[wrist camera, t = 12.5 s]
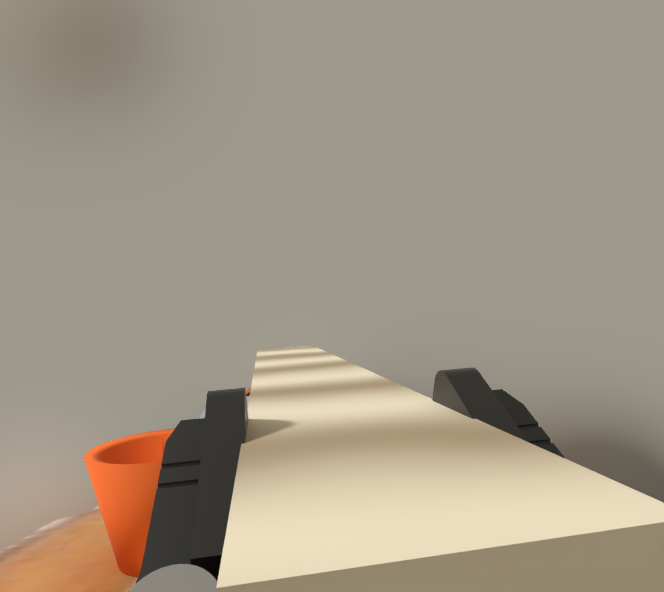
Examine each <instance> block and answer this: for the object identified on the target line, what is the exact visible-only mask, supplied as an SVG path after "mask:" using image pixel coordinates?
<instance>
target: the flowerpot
mask: <svg viewBox="0 0 664 592" xmlns="http://www.w3.org/2000/svg"><path fill="white" fill-rule="evenodd" d="M173 431H174V429H166V430H159V431H152V432H147V433H141V434H136V435H132V436H127V437H123V438H120V439H116V440H113V441H110V442H107V443H104V444H101V445H99V446H97V447H94V448H93V449H91V450H89V451H88V452H87V453H86V454H85V456H84V459H85V463H86V466H87V469H88V472H89V475H90V478H91V481H92V485H93V488H94V491H95V494H96V497H97V500H98V504H99V507H100V510H101V513H102V516H103V519H104V522H105V526H106V529H107V532H108V535H109V538H110V541H111V544H112V548H113V551H114V554H115V557H116V560H117V563H118V566H119V569H120V570H121V572H123V573H124V574H126V575H129V576H133V577H139V574H140V570H141V567H142V561H143V556H144V551H145V546H146V541H147V536H148V531H149V525H150V520H151V515H152V510H153V505H154V500H155V494H156V489H158V479H159V474H160V469H161V468H162V466H161V464H162V458H163V453H164V448H165V443H166V440H167V439H168V438H169V436H170V435H171V433H172V432H173Z"/></svg>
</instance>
